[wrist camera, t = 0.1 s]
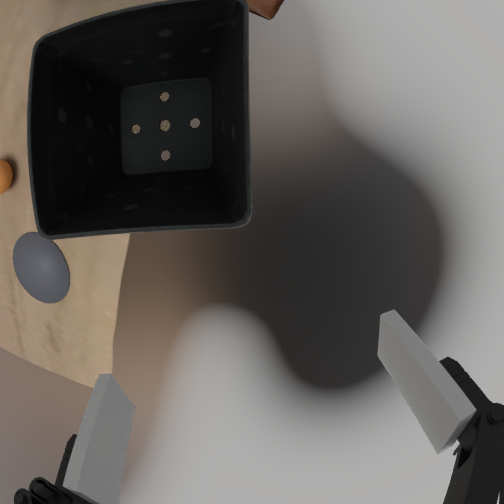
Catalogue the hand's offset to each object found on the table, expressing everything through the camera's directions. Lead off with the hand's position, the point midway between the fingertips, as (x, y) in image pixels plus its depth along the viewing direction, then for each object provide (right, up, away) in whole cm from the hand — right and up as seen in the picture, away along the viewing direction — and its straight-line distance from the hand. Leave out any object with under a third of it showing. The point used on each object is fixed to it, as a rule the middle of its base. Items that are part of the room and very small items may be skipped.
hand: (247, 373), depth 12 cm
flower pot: (-11, +22, +21) cm, 32 cm away
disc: (-35, +3, +25) cm, 44 cm away
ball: (-39, +17, +16) cm, 45 cm away
